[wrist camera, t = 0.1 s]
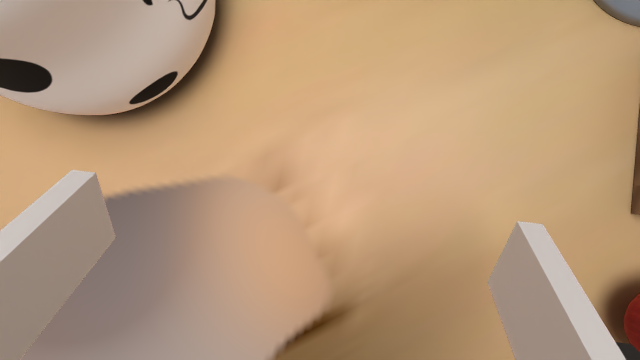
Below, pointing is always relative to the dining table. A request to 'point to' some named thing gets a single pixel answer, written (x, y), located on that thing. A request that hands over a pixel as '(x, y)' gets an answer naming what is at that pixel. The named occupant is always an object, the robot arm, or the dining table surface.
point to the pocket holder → (636, 178)
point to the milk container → (98, 51)
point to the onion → (633, 322)
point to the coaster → (622, 10)
